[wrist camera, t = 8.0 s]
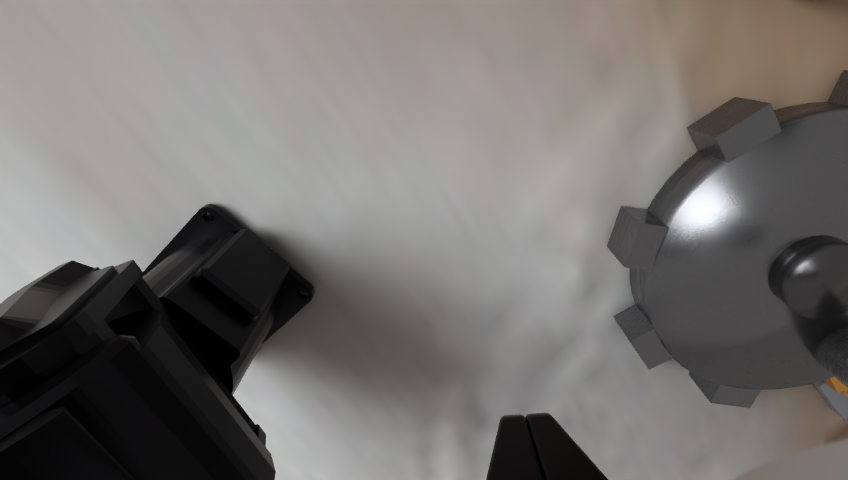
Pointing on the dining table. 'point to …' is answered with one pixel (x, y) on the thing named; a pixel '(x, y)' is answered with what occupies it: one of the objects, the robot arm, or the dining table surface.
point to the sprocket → (747, 252)
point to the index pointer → (834, 398)
